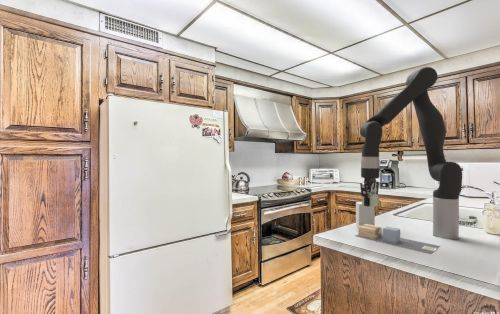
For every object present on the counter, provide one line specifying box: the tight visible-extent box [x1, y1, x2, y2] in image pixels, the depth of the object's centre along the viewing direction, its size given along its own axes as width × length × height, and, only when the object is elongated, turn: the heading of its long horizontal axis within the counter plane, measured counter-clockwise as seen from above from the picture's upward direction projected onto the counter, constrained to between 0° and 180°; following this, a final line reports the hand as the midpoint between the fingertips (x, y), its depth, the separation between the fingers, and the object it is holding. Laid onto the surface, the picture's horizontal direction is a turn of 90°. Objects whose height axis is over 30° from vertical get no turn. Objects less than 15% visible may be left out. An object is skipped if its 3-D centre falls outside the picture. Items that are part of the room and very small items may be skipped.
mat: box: [354, 233, 441, 255], centre depth 111 cm, size 12×29×1 cm, turn 42°
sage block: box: [361, 194, 379, 207], centre depth 118 cm, size 5×5×5 cm
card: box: [422, 246, 438, 253], centre depth 101 cm, size 4×4×1 cm
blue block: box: [382, 225, 401, 243], centre depth 111 cm, size 5×5×5 cm
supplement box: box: [355, 201, 376, 230], centre depth 131 cm, size 7×7×13 cm
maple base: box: [358, 224, 382, 239], centre depth 118 cm, size 7×7×4 cm
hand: (369, 205), depth 118 cm, fingers closed on sage block, 5 cm apart
